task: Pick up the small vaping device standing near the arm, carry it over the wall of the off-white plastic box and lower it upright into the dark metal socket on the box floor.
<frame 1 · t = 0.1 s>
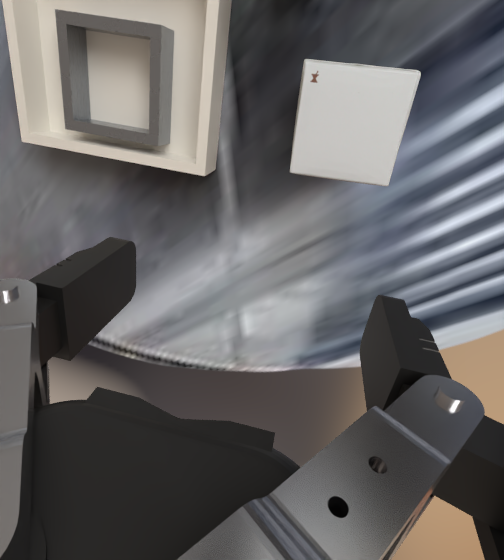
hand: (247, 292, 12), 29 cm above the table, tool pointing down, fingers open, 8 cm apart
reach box: (128, 60, 36), on the table
inlet socket: (128, 83, 37), resting on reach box
supplement box: (341, 118, 35), on the table
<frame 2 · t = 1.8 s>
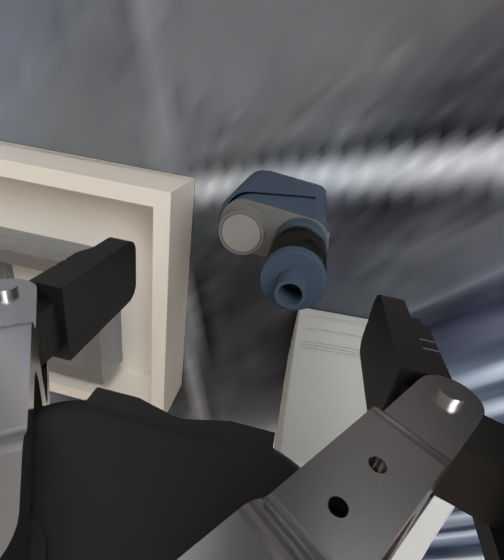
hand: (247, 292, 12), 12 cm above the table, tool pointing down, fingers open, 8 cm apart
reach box: (65, 269, 28), on the table
vaping device: (287, 194, 23), on the table
inlet socket: (68, 291, 29), resting on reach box
supplement box: (338, 352, 27), on the table
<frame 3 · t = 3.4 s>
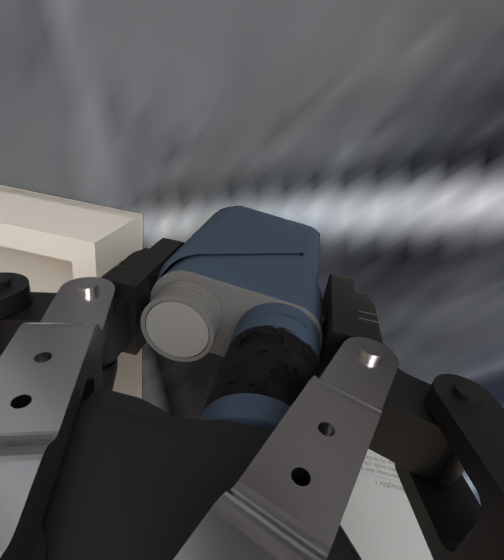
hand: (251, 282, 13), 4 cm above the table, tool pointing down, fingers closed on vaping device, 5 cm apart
vaping device: (268, 237, 17), on the table, touching gripper
supplement box: (338, 433, 21), on the table
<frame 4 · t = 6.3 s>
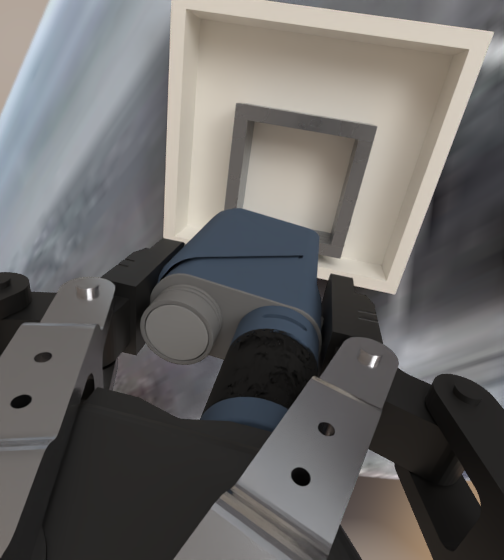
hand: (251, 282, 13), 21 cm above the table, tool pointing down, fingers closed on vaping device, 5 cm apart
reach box: (300, 152, 30), on the table
vaping device: (267, 239, 17), point 16 cm above the table, touching gripper
inlet socket: (295, 176, 31), resting on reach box
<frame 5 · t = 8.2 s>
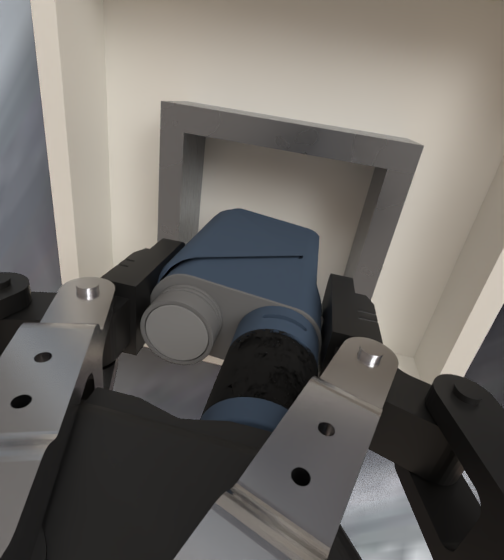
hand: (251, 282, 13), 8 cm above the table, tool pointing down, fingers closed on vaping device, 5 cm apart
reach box: (283, 182, 18), on the table
vaping device: (267, 239, 17), point 3 cm above the table, touching gripper
inlet socket: (276, 220, 19), resting on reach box
when the fingers open (7 cm above the table, at t = 9.5 s): vaping device drops 1 cm, resting on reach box.
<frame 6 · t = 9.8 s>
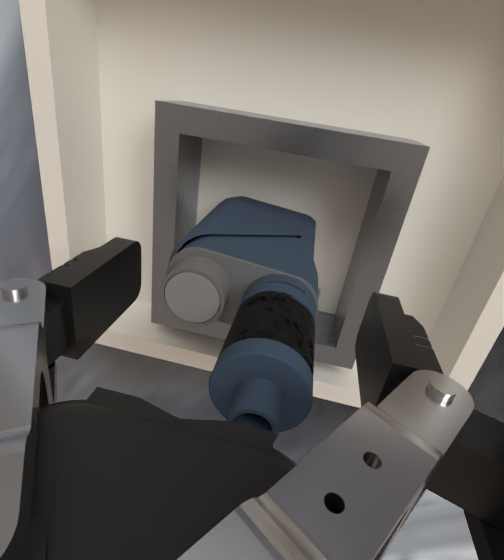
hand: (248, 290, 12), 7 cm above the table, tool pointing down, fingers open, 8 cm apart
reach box: (283, 185, 18), on the table
vaping device: (268, 225, 18), point 1 cm above the table, touching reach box
inlet socket: (276, 224, 19), resting on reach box
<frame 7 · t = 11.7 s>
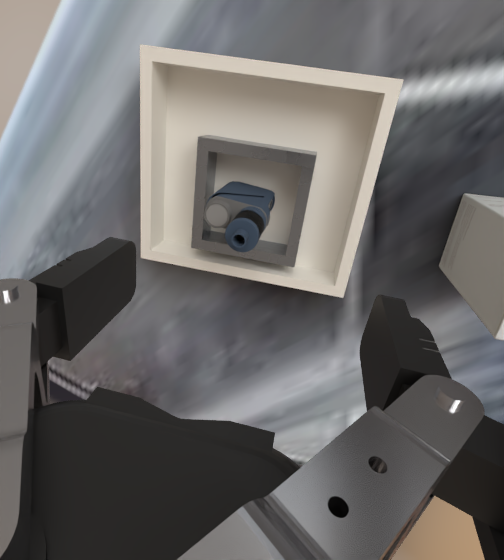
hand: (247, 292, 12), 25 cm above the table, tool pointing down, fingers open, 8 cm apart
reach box: (258, 175, 34), on the table
vaping device: (251, 196, 35), point 1 cm above the table, touching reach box
inlet socket: (255, 196, 35), resting on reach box
supplement box: (489, 236, 33), on the table
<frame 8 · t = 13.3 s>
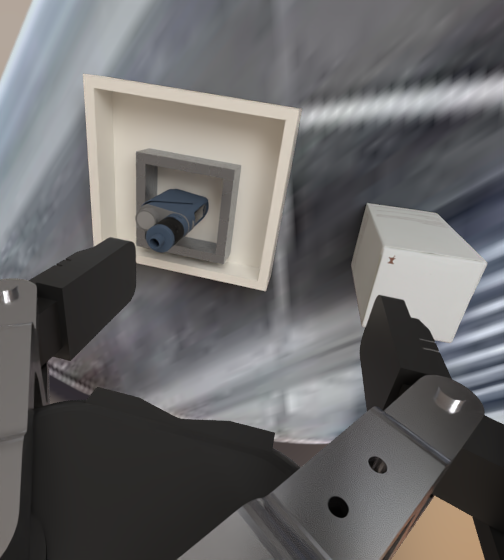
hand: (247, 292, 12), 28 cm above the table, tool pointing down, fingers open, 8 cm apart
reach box: (195, 183, 40), on the table
vaping device: (189, 202, 40), point 1 cm above the table, touching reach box
inlet socket: (193, 201, 41), resting on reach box
supplement box: (392, 240, 39), on the table
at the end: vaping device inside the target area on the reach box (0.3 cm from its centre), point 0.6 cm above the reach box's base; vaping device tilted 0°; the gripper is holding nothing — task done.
